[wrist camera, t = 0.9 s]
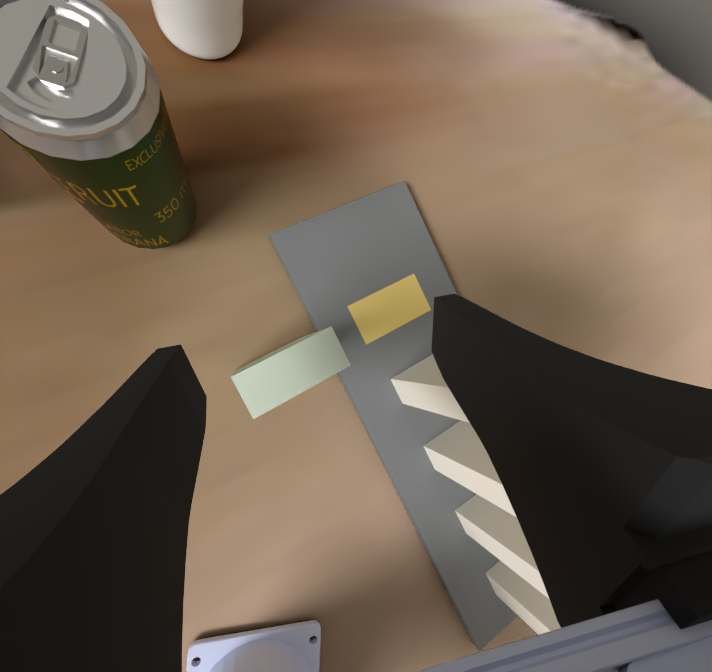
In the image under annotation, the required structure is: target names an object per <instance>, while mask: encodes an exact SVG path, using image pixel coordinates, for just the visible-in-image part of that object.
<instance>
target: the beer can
mask: <svg viewBox="0 0 712 672" xmlns="http://www.w3.org/2000/svg"><path fill="white" fill-rule="evenodd" d="M0 129H1V130H2V131H3V132H4V133H5V134H6V135H7V136H8V137H9V138H10V139H12V140H13V141H14V142H15V143H16V144H17V145H18V146H19V147H20V148H21V149H22V150H23V151H24V152H25V153H26V154H27V155H29V156H30V157H31V158H32V159H33V160H34V161H35V162H36V163H37V164H38V165H39V166H40V167H41V168H42V169H43V170H45V171H46V172H47V173H48V174H49V175H50V176H51V177H52V178H53V179H54V180H55V181H56V182H57V183H58V184H59V185H61V186H62V187H63V188H64V189H65V190H66V191H67V192H68V193H69V194H70V195H71V196H72V197H73V198H74V199H75V200H77V201H78V202H79V203H80V204H81V205H82V206H83V207H84V208H85V209H86V210H87V211H88V212H89V213H90V214H91V215H93V216H94V217H95V218H96V219H97V220H98V221H99V222H100V223H101V224H102V225H103V226H104V227H105V228H106V229H107V230H108V231H110V232H111V233H112V234H113V235H115V236H116V237H117V238H119V239H120V240H122V241H123V242H125V243H128V244H130V245H133V246H136V247H139V248H150V249H156V248H161V247H166V246H170V245H172V244H174V243H175V242H177V241H179V240H181V239H182V238H183V237H184V236H185V235H186V234H187V233H188V232H189V231H190V230H191V227H192V225H193V223H194V220H195V218H196V202H195V199H194V195H193V192H192V189H191V186H190V182H189V179H188V176H187V173H186V170H185V166H184V163H183V160H182V157H181V154H180V150H179V147H178V144H177V141H176V138H175V134H174V131H173V128H172V125H171V121H170V118H169V115H168V112H167V109H166V105H165V102H164V99H163V96H162V93H161V89H160V86H159V83H158V80H157V77H156V73H155V70H154V67H153V65H152V63H151V62H150V60H149V59H148V57H147V56H146V54H145V53H144V51H143V50H142V48H141V47H140V45H139V43H138V42H137V40H136V39H135V37H134V36H133V34H132V33H131V31H130V30H129V28H128V27H127V25H126V24H125V22H124V21H123V20H122V19H121V18H119V17H118V16H117V15H116V14H115V13H114V12H113V11H111V10H110V9H109V8H108V7H107V6H106V5H105V4H104V3H102V2H101V1H99V0H0Z"/></svg>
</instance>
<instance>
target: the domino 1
mask: <svg viewBox="0 0 712 672" xmlns="http://www.w3.org/2000/svg"><path fill="white" fill-rule="evenodd" d="M349 366H351V364H350V362H349V360H348V358H347V356H346V354H345V352H344V350H343V348H342V346H341V344H340V342H339V340H338V338H337V336H336V334H335V332H334V330H333V328H332V326H331V327H328V328H325V329H322V330H320V331H317V332H314V333H311V334H308V335H306V336H303V337H301V338H299V339H297V340H295V341H293V342H291V343H289V344H287V345H285V346H283V347H281V348H279V349H277V350H275V351H273V352H271V353H269V354H267V355H265V356H263V357H261V358H259V359H257V360H255V361H253V362H251V363H249V364H247V365H245V366H243V367H241V368H239V369H237V370H235V372H234V373H233V375H232V376H231V378H232V380H233V382H234V384H235V385H236V387H237V389H238V391H239V393H240V395H241V397H242V399H243V401H244V402H245V404H246V406H247V408H248V410H249V412H250V414H251V416H252V418H253V419H255V418H256V417H258V416H260V415H262V414H264V413H265V412H267V411H269V410H271V409H273V408H275V407H276V406H278V405H280V404H282V403H284V402H285V401H287V400H289V399H291V398H293V397H295V396H296V395H298V394H300V393H302V392H304V391H305V390H307V389H309V388H311V387H313V386H315V385H316V384H318V383H320V382H322V381H324V380H325V379H327V378H329V377H331V376H333V375H335V374H336V373H338V372H340V371H342V370H344V369H345V368H347V367H349Z"/></svg>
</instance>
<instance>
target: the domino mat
mask: <svg viewBox="0 0 712 672" xmlns="http://www.w3.org/2000/svg"><path fill="white" fill-rule="evenodd" d="M269 239H270V241H271V243H272V245H273V246H274V248H275V250H276V252H277V254H278V256H279V258H280V260H281V262H282V264H283V266H284V268H285V270H286V272H287V274H288V276H289V278H290V280H291V282H292V284H293V286H294V288H295V290H296V292H297V294H298V296H299V298H300V300H301V302H302V304H303V306H304V308H305V310H306V312H307V314H308V316H309V318H310V320H311V322H312V324H313V326H314V328H315V330H316V332H317V331H320V330H322V329H325V328H328V327H331V326H332V328H333V330H334V332H335V334H336V336H337V338H338V340H339V342H340V344H341V346H342V348H343V350H344V352H345V354H346V356H347V358H348V360H349V362H350V364H351V366H349V367H347V368H345V369H344V370H342V371H340V372H338V373H337V374H338V376H339V378H340V380H341V382H342V384H343V386H344V388H345V390H346V392H347V394H348V396H349V398H350V400H351V402H352V404H353V406H354V408H355V409H356V411H357V413H358V415H359V417H360V419H361V421H362V423H363V425H364V427H365V429H366V431H367V433H368V435H369V437H370V439H371V441H372V443H373V445H374V447H375V449H376V451H377V453H378V455H379V457H380V459H381V461H382V463H383V465H384V467H385V469H386V471H387V473H388V475H389V477H390V479H391V481H392V483H393V485H394V487H395V489H396V491H397V493H398V495H399V497H400V499H401V501H402V503H403V505H404V507H405V509H406V511H407V513H408V515H409V517H410V519H411V521H412V523H413V525H414V527H415V529H416V531H417V533H418V535H419V537H420V539H421V541H422V543H423V545H424V547H425V549H426V551H427V553H428V555H429V557H430V559H431V561H432V563H433V565H434V567H435V569H436V571H437V572H438V574H439V576H440V578H441V580H442V582H443V584H444V586H445V588H446V590H447V592H448V594H449V596H450V598H451V600H452V602H453V604H454V606H455V608H456V610H457V612H458V614H459V616H460V618H461V620H462V622H463V624H464V626H465V628H466V630H467V632H468V634H469V636H470V638H471V640H472V642H473V644H474V645H475V646H476V647H477V649H478V650H479V651H480V650H481V649H482V648H483V647H484V646H485V645H486V644H487V643H488V642H489V641H491V640H492V639H493V638H494V637H495V636H496V635H497V634H498V633H499V632H500V631H501V630H502V629H503V628H504V627H506V626H507V625H508V624H509V623H510V622H511V621H512V620H513V619H514V618H515V617H516V616H517V614H516V613H515V612H514V611H513V610H512V609H511V608H510V607H508V606H507V605H506V604H505V603H504V602H503V601H502V600H501V599H500V598H499V597H498V596H497V595H496V593H495V591H494V589H493V587H492V585H491V583H490V581H489V579H488V577H487V575H486V572H487V571H488V570H489V569H491V568H492V567H493V566H494V565H495V564H496V563H498V562H499V561H500V560H499V559H498V558H497V557H495V556H494V555H493V554H491V553H490V552H489V551H488V550H486V549H485V548H484V547H483V546H481V545H480V544H479V543H478V542H476V541H475V540H474V539H473V538H471V537H470V536H469V535H467V534H466V532H465V530H464V528H463V526H462V524H461V522H460V520H459V518H458V516H457V514H456V512H455V510H456V509H458V508H459V507H460V506H461V505H463V504H464V503H465V502H467V501H468V500H469V499H471V498H472V497H473V496H475V495H476V493H474V492H472V491H471V490H469V489H467V488H466V487H464V486H462V485H460V484H459V483H457V482H455V481H454V480H452V479H450V478H448V477H447V476H445V475H443V474H442V473H440V472H438V471H436V470H435V469H434V467H433V465H432V463H431V461H430V459H429V457H428V455H427V452H426V450H425V448H424V445H425V444H427V443H428V442H430V441H431V440H433V439H434V438H436V437H437V436H439V435H440V434H442V433H443V432H445V431H446V430H447V429H449V428H450V427H452V426H453V425H455V424H456V423H458V422H459V421H461V420H458V419H454V418H451V417H447V416H444V415H440V414H437V413H434V412H430V411H427V410H423V409H420V408H416V407H413V406H409V405H406V404H402V402H401V399H400V397H399V395H398V393H397V391H396V389H395V387H394V385H393V383H392V381H391V378H393V377H395V376H396V375H398V374H400V373H401V372H403V371H405V370H407V369H408V368H410V367H412V366H413V365H415V364H417V363H419V362H420V361H422V360H424V359H425V358H427V357H429V356H431V355H432V351H431V350H432V331H433V312H434V297H438V296H444V295H449V294H456V295H457V293H456V291H455V289H454V286H453V284H452V282H451V280H450V278H449V276H448V273H447V271H446V269H445V267H444V265H443V263H442V260H441V258H440V256H439V254H438V252H437V250H436V248H435V245H434V243H433V241H432V239H431V237H430V235H429V232H428V230H427V228H426V226H425V224H424V222H423V219H422V217H421V215H420V213H419V211H418V209H417V206H416V204H415V202H414V200H413V198H412V196H411V193H410V191H409V189H408V187H407V185H406V183H405V181H403V182H401V183H398V184H396V185H393V186H391V187H388V188H386V189H383V190H381V191H378V192H376V193H373V194H370V195H368V196H365V197H363V198H360V199H358V200H355V201H353V202H350V203H348V204H345V205H343V206H340V207H338V208H335V209H333V210H330V211H328V212H325V213H323V214H320V215H318V216H315V217H313V218H310V219H307V220H305V221H302V222H300V223H297V224H295V225H292V226H290V227H287V228H285V229H282V230H280V231H277V232H275V233H272V234H270V237H269Z"/></svg>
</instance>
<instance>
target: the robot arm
mask: <svg viewBox="0 0 712 672" xmlns="http://www.w3.org/2000/svg"><path fill="white" fill-rule="evenodd" d="M431 351H432V354H433V356H434V359H435V361H436V363H437V366H438V368H439V370H440V373H441V375H442V377H443V379H444V381H445V383H446V384H447V386H448V388H449V389H450V391H451V393H452V394H453V396H454V398H455V399H456V401H457V403H458V404H459V406H460V408H461V409H462V411H463V412H464V414H465V416H466V417H467V419H468V421H469V422H470V424H471V426H472V427H473V429H474V430H475V432H476V434H477V435H478V437H479V439H480V441H481V442H482V444H483V446H484V448H485V450H486V451H487V453H488V455H489V458H490V460H491V462H492V464H493V466H494V468H495V470H496V472H497V474H498V477H499V479H500V481H501V483H502V485H503V487H504V490H505V492H506V494H507V496H508V499H509V501H510V503H511V505H512V508H513V510H514V512H515V514H516V517H517V519H518V521H519V524H520V526H521V529H522V531H523V533H524V536H525V538H526V541H527V543H528V545H529V548H530V550H531V553H532V555H533V558H534V560H535V563H536V565H537V568H538V571H539V573H540V576H541V578H542V581H543V583H544V586H545V589H546V591H547V594H548V596H549V599H550V602H551V605H552V607H553V610H554V613H555V616H556V618H557V621H558V623H559V625H560V627H561V628H559V629H556V630H553V631H549V632H546V633H543V634H539V635H536V636H533V637H530V638H526V639H523V640H520V641H516V642H513V643H510V644H506V645H503V646H500V647H496V648H493V649H490V650H486V651H483V652H480V653H476V654H473V655H470V656H466V657H463V658H460V659H456V660H453V661H450V662H446V663H443V664H440V665H436V666H433V667H430V668H426V669H423V670H420V671H416V672H712V389H707V388H703V387H699V386H694V385H690V384H686V383H681V382H677V381H673V380H668V379H665V378H661V377H657V376H653V375H649V374H645V373H642V372H638V371H635V370H632V369H628V368H625V367H622V366H618V365H615V364H612V363H608V362H605V361H602V360H599V359H596V358H593V357H591V356H588V355H585V354H583V353H580V352H577V351H574V350H572V349H569V348H566V347H564V346H561V345H559V344H556V343H554V342H552V341H549V340H547V339H545V338H543V337H540V336H538V335H536V334H534V333H531V332H529V331H527V330H525V329H523V328H521V327H519V326H517V325H515V324H513V323H511V322H509V321H507V320H505V319H503V318H501V317H499V316H497V315H495V314H493V313H491V312H490V311H488V310H486V309H484V308H482V307H480V306H478V305H476V304H475V303H473V302H471V301H469V300H467V299H465V298H463V297H461V296H459V295H456V294H449V295H444V296H438V297H434V312H433V331H432V350H431ZM205 425H206V395H205V393H204V391H203V389H202V387H201V385H200V383H199V380H198V378H197V376H196V374H195V372H194V370H193V368H192V366H191V364H190V362H189V360H188V358H187V356H186V354H185V352H184V350H183V348H182V346H181V345H176V346H170V347H165V348H160V349H157V350H156V351H155V352H154V353H153V354H152V355H151V356H150V357H149V358H148V359H147V360H146V361H145V362H144V363H143V364H142V365H141V366H140V367H139V368H138V369H137V370H136V371H135V372H134V373H133V374H132V375H131V376H130V377H129V379H128V380H127V381H126V382H125V383H124V384H123V385H122V386H121V387H120V388H119V389H118V390H117V391H116V392H115V393H114V394H113V395H112V396H111V397H110V398H109V399H108V400H107V401H106V403H105V404H104V405H103V406H102V407H101V408H100V409H98V410H97V411H96V412H95V413H94V414H93V415H92V416H91V417H90V418H89V419H88V420H87V421H86V422H85V423H84V424H83V425H82V426H81V427H80V428H79V429H78V430H77V431H76V432H75V433H74V434H73V435H72V436H71V437H69V438H68V439H67V440H66V441H65V442H64V443H63V444H62V445H61V446H60V447H58V448H57V449H56V450H55V451H54V452H53V453H52V454H50V455H49V456H48V457H47V458H46V459H45V460H43V461H42V462H41V463H40V464H39V465H37V466H36V467H35V468H34V469H33V470H31V471H30V472H29V473H28V474H27V475H25V476H24V477H23V478H22V479H20V480H19V481H18V482H17V483H15V484H14V485H13V486H12V487H10V488H9V489H8V490H6V491H5V492H4V493H2V494H1V495H0V672H182V624H183V597H184V579H185V561H186V549H187V536H188V524H189V517H190V510H191V503H192V498H193V493H194V488H195V482H196V477H197V472H198V467H199V461H200V456H201V451H202V445H203V440H204V434H205ZM312 636H316V637H315V638H314V639H313V640H310V638H311V637H312ZM320 642H321V627H320V623H319V622H318V621H316V620H311V621H305V622H299V623H293V624H287V625H281V626H275V627H269V628H264V629H258V630H252V631H246V632H240V633H234V634H228V635H222V636H217V637H211V638H205V639H199V640H196V641H194V642H193V643H191V645H190V646H189V650H188V656H187V670H186V672H319V664H320ZM196 657H199V658H200V660H199V661H193V659H194V658H196Z"/></svg>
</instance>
